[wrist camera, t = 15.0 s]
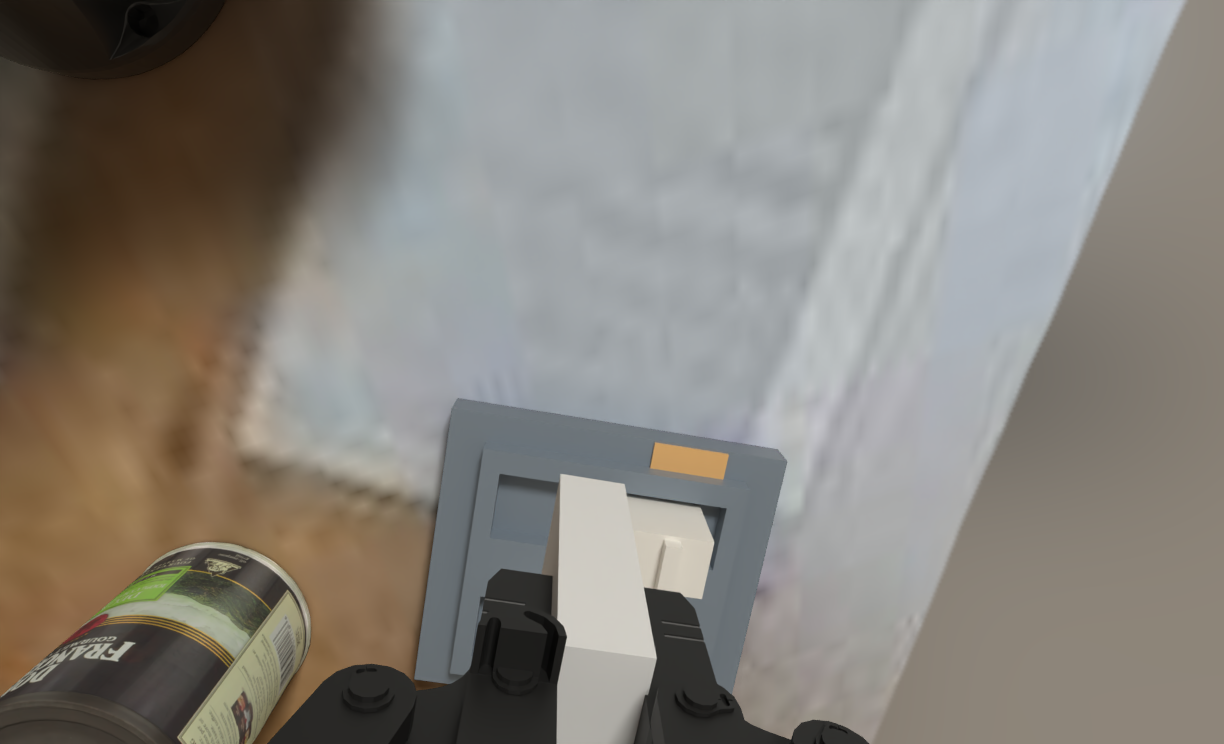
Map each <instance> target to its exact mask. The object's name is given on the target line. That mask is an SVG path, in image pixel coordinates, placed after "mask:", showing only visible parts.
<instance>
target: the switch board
mask: <svg viewBox="0 0 1224 744" xmlns="http://www.w3.org/2000/svg"><path fill="white" fill-rule="evenodd" d="M786 465H787V460H786V459H785V458H784V457H783V455H782V454H781V453H780V452H779V450H777V449H771V448H765V447H759V446H752V445H746V444H740V443H734V442H727V441H721V440H715V439H709V438H702V437H696V436H690V435H684V434H677V433H671V432H665V431H659V430H652V429H646V428H640V427H634V426H627V425H621V424H615V423H609V422H602V421H596V420H590V419H584V418H577V417H571V416H565V415H559V414H552V413H546V412H540V411H534V410H527V409H521V408H515V407H509V406H502V405H496V404H490V403H484V402H477V401H471V400H465V399H459V398H458V399H457V401H456V402H455V404H454V406H453V407H452V411H451V418H450V425H449V433H448V440H447V447H446V454H445V461H444V469H443V476H442V483H441V490H440V497H439V505H438V512H437V519H436V526H435V533H434V541H433V548H432V555H431V562H430V569H429V577H428V584H427V591H426V598H425V605H424V613H423V620H422V627H421V634H420V641H419V648H418V656H417V663H416V670H415V677H414V679H415V680H423V681H431V682H438V683H446V684H451V683H453V682H455V681H457V680H458V679H460V678H461V677H463V676H464V675H465V673H466V672H467V671H468V670H469V669H470V666H471V662H472V656H473V650H474V644H475V638H476V633H477V627H478V623H479V622H480V620H481V615H482V610H483V604H484V599H485V594H486V589H487V584H488V580H489V579H491V578H492V577H493V576H494V575H495V574H496V573H497V572H498V571H499V570H500V569H501V568H502V569H509V570H516V571H523V572H530V573H536V574H542V568H543V563H544V558H545V553H546V547H547V542H548V537H549V532H550V526H551V521H552V516H553V511H554V505H555V500H556V495H557V490H558V484H559V479H560V474H565V475H572V476H578V477H584V478H590V479H597V480H603V481H609V482H615V483H621V484H625V489H626V493H629V494H636V495H642V496H649V497H655V498H662V499H668V500H675V501H681V502H688V503H694V504H699V505H700V507H701V510H702V512H703V515H704V517H705V520H706V522H707V525H708V527H709V530H710V533H711V535H712V538H713V540H714V547H713V551H712V556H711V560H710V565H709V569H708V574H707V578H706V583H705V587H704V592H703V596H702V599H697V598H690V597H685V598H686V599H687V600H688V601H689V603H690V604H691V605H692V606H693V607H694V608H695V610H696V614H697V617H698V620H699V624H700V629H701V631H702V634H703V638H704V642H705V644H706V648H707V651H708V655H709V658H710V661H711V665H712V668H713V672H714V675H715V678H716V682H717V684H718V685H720V686H722V687H723V688H725V689H726V690H727V691H728V692H729V693H730V694H731V695H732V691H733V687H734V683H735V678H736V674H737V670H738V666H739V662H740V657H741V653H742V649H743V645H744V641H745V636H746V632H747V628H748V624H749V620H750V616H751V611H752V607H753V603H754V599H755V595H756V590H757V586H758V582H759V578H760V574H761V569H762V565H763V561H764V557H765V553H766V549H767V544H768V540H769V536H770V532H771V528H772V523H773V519H774V515H775V511H776V507H777V502H778V498H779V494H780V490H781V486H782V482H783V477H784V473H785V469H786Z"/></svg>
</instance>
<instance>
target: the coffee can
mask: <svg viewBox="0 0 1224 744" xmlns="http://www.w3.org/2000/svg"><path fill="white" fill-rule="evenodd" d="M310 638H311V620H310V614H309V610H308V606H307V604H306V601H305V599H304V597H303V594H302V593H301V591H300V589H299V588H298V586H297V584H296V583H295V581H294V580H293V579H292V578H291V577H290V576H289V575H288V574H287V573H286V572H285V571H284V570H283V569H282V568H281V567H280V566H279V565H277V564H276V563H275V562H274V561H272V560H271V559H269V558H268V557H266V556H264V555H262V554H260V553H258V552H256V551H254V550H251V549H248V548H246V547H243V546H240V545H236V544H230V543H221V542H204V543H196V544H191V545H186V546H183V547H180V548H177V549H175V550H172V551H170V552H168V553H166V554H165V555H163V556H161V557H160V558H159V559H157V560H156V561H155V562H154V563H152V564H151V565H150V566H149V567H148V568H147V569H146V570H145V572H144V573H143V574H142V575H141V576H140V577H138V578H137V579H136V580H135V581H134V582H133V583H132V584H130V585H129V586H128V587H127V588H126V589H125V590H124V591H122V592H121V593H120V594H119V595H118V596H116V597H115V598H114V599H113V600H112V601H111V602H110V603H109V604H107V605H106V606H105V607H104V608H103V609H102V610H100V611H99V612H98V613H97V614H96V615H95V616H93V617H92V618H91V619H90V620H89V621H88V622H86V623H85V624H84V625H83V626H82V627H81V628H79V629H78V630H77V631H76V632H75V633H74V634H73V635H71V636H70V637H69V638H68V639H67V640H66V641H64V642H63V643H62V644H61V645H60V646H59V647H57V648H56V649H55V650H54V651H53V652H52V653H50V654H49V655H48V656H47V657H46V658H45V659H43V660H42V661H41V662H40V663H39V664H38V665H36V666H35V667H34V668H33V669H32V670H31V671H30V672H28V673H27V674H26V675H25V676H24V677H23V678H21V679H20V680H19V681H18V682H17V683H16V684H14V685H13V686H12V687H11V688H10V689H9V690H8V691H7V692H5V693H4V694H3V695H2V696H1V697H0V744H252V743H253V742H254V741H255V739H256V737H257V736H258V734H259V733H260V731H261V729H262V728H263V726H264V724H265V722H266V721H267V719H268V717H269V715H270V714H271V712H272V711H273V709H274V708H275V706H276V704H277V703H278V701H279V699H280V698H281V696H282V694H283V692H284V690H285V689H286V687H287V685H288V684H289V682H290V680H291V679H292V677H293V675H294V674H295V673H296V672H297V671H298V669H299V668H300V666H301V665H302V663H303V661H304V659H305V657H306V654H307V652H308V648H309V646H310Z"/></svg>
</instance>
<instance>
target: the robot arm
mask: <svg viewBox="0 0 1224 744" xmlns="http://www.w3.org/2000/svg"><path fill="white" fill-rule="evenodd" d="M224 2H225V0H0V56H2V57H4V58H6V59H9V60H11V61H14V62H17V63H19V64H22V65H26V66H29V67H32V68H37V69H41V70H45V71H49V72H53V73H57V74H61V75H66V76H70V77H77V78H86V79H112V78H121V77H127V76H132V75H136V74H140V73H143V72H146V71H149V70H152V69H154V68H156V67H159V66H161V65H163V64H165V63H167V62H169V61H170V60H172V59H174V58H175V57H177V56H178V55H180V54H181V53H183V52H184V51H185V50H186V49H188V48H189V47H190V46H191V45H192V44H193V43H195V42H196V41H197V40H198V39H199V38H200V37H201V36H202V34H203V33H204V32H205V31H206V30H207V29H208V27H209V26H210V25H211V23H212V22H213V21H214V19H215V18H216V16H217V15H218V13H219V11H220V10H221V8H222V6H223V4H224ZM267 744H869V743H868V742H867V741H866V740H865V739H864V738H863V737H861V736H860V735H858V734H856V733H855V732H853V731H851V730H850V729H848V728H846V727H844V726H841V725H838V724H836V723H832V722H830V721H820V720H811V721H807V722H803V723H801V724H800V725H799V726H798V727H797V728H796V729H795V730H794V732H793V736H792V739H791V740H790V739H787V738H784V737H781V736H779V735H776V734H773V733H770V732H768V731H765V730H762V729H760V728H758V727H756V726H753V725H751V724H750V723H748V722H747V721H745V720H744V717H743V714H742V711H741V708H740V706H739V704H738V703H737V701H736V699H735V697H734V696H733V695H731V694H730V693H729V692H728V691H727V690H726V689H725V688H723V687H722V686H720V685H718V684H717V682H716V678H715V675H714V672H713V668H712V665H711V661H710V658H709V655H708V651H707V648H706V644H705V642H704V638H703V634H702V631H701V629H700V624H699V620H698V617H697V614H696V610H695V608H694V607H693V606H692V605H691V604H690V603H689V601H688V600H687V599H686V598H685V597H684V596H683V595H682V594H681V593H679V592H673V591H666V590H659V589H652V588H645V587H644V586H643V581H642V576H641V570H640V565H639V559H638V554H637V549H636V543H635V538H634V532H633V527H632V521H631V516H630V511H629V505H628V500H627V494H626V489H625V484H621V483H615V482H609V481H603V480H597V479H590V478H584V477H578V476H572V475H565V474H560V479H559V484H558V490H557V495H556V500H555V505H554V511H553V516H552V521H551V526H550V532H549V537H548V542H547V547H546V553H545V558H544V563H543V568H542V574H536V573H530V572H523V571H516V570H509V569H502V568H501V569H500V570H499V571H498V572H497V573H496V574H495V575H494V576H493V577H492V578H491V579H489V580H488V584H487V589H486V594H485V599H484V604H483V610H482V615H481V620H480V622H479V623H478V627H477V633H476V638H475V644H474V650H473V656H472V662H471V666H470V669H469V670H468V671H467V672H466V673H465V675H464V676H463V677H461V678H460V679H458V680H457V681H455V682H453V683H451V684H448V685H445V686H443V687H439V688H433V689H428V690H418V691H416V689H415V686H414V683H413V682H412V681H411V680H410V679H409V678H408V677H407V676H406V675H405V674H404V673H402V672H400V671H398V670H396V669H394V668H391V667H388V666H382V665H376V664H366V665H354V666H351V667H348V668H345V669H342V670H339V671H337V672H335V673H334V674H333V675H331V676H330V677H329V678H327V679H326V680H325V681H324V682H323V683H322V684H321V685H320V686H319V687H318V688H317V689H316V690H315V691H314V693H313V694H312V695H311V696H310V697H309V698H308V699H307V700H306V701H305V703H304V704H303V705H302V706H301V707H300V708H299V709H298V710H297V711H296V712H295V714H294V715H293V716H292V717H291V718H290V719H289V720H288V721H287V722H286V724H285V725H284V726H283V727H282V728H281V729H280V730H279V731H278V732H277V733H276V735H275V736H274V737H273V738H272V739H271V740H270V741H269V742H268V743H267Z"/></svg>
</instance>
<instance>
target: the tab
mask: <svg viewBox="0 0 1224 744" xmlns="http://www.w3.org/2000/svg"><path fill="white" fill-rule="evenodd" d="M626 494H627V500H628V505H629V511H630V516H631V521H632V527H633V532H634V538H635V543H636V549H637V554H638V559H639V565H640V570H641V576H642V581H643V586H644V587H645V588H652V589H659V590H666V591H673V592H679V593H681V594H682V595H683V596H684V597H690V598H697V599H702V596H703V592H704V587H705V583H706V578H707V574H708V569H709V565H710V560H711V556H712V551H713V547H714V540H713V538H712V535H711V533H710V530H709V527H708V525H707V522H706V520H705V517H704V515H703V512H702V510H701V507H700V505H699V504H694V503H688V502H681V501H675V500H668V499H662V498H655V497H649V496H642V495H636V494H629V493H626Z"/></svg>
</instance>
